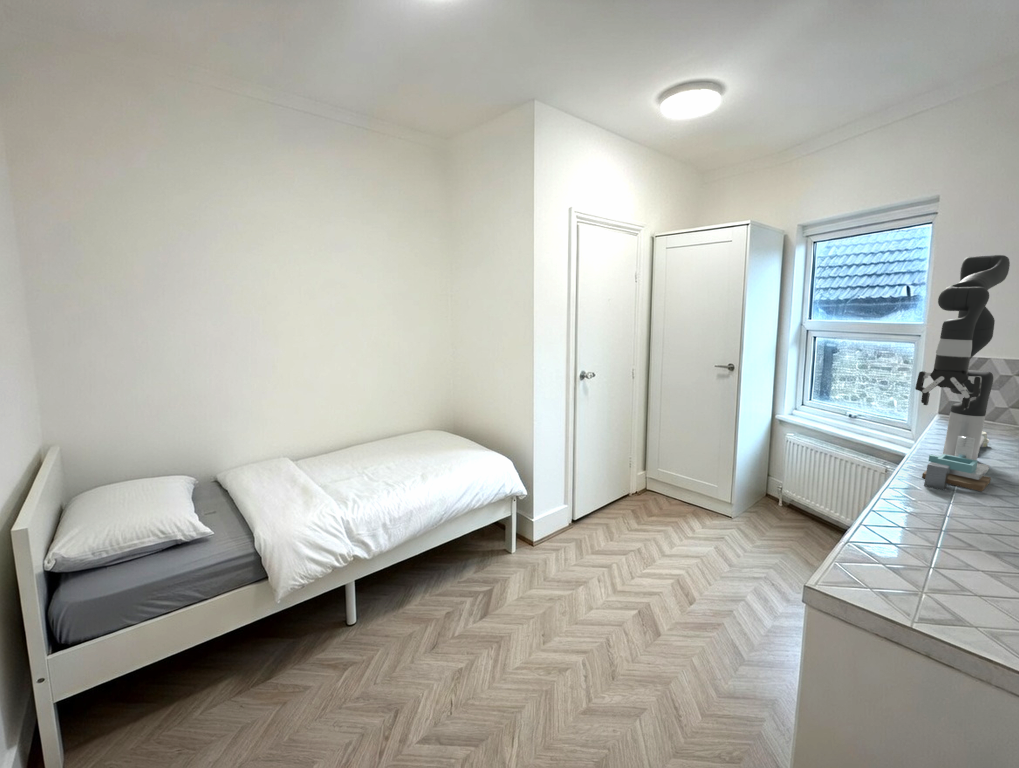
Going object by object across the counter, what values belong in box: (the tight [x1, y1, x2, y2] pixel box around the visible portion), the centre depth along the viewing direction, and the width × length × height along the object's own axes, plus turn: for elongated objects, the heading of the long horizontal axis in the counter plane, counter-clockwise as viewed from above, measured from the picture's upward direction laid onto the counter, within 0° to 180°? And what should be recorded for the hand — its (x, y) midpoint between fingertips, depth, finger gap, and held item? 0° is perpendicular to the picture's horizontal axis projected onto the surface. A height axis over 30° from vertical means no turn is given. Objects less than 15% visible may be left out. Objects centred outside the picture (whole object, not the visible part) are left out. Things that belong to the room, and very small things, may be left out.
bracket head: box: [928, 453, 979, 473], centre depth 148 cm, size 8×11×2 cm
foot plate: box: [921, 469, 992, 492], centre depth 150 cm, size 14×14×2 cm
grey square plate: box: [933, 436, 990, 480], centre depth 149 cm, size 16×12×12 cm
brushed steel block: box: [923, 461, 950, 491], centre depth 143 cm, size 4×4×7 cm
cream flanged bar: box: [979, 431, 990, 451], centre depth 184 cm, size 5×7×25 cm
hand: (943, 407), depth 141 cm, fingers open, 8 cm apart
